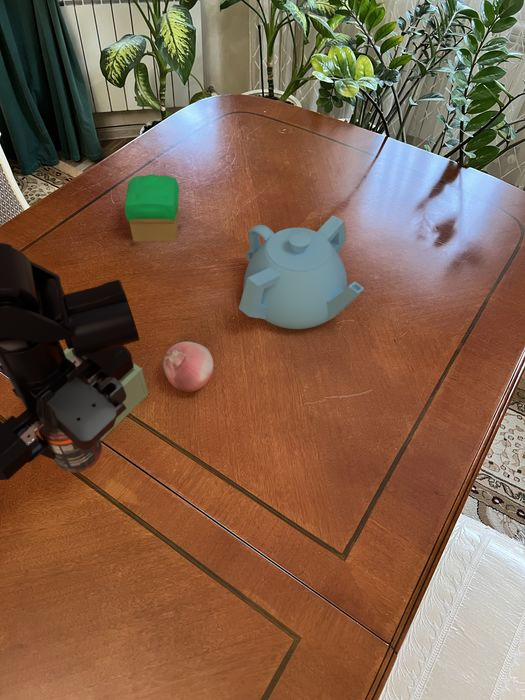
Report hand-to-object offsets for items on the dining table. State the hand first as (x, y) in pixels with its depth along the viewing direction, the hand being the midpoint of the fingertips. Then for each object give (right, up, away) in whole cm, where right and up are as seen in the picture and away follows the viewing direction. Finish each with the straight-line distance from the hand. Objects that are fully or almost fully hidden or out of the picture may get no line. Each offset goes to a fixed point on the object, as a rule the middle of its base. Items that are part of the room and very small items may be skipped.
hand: (72, 437), depth 68 cm
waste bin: (-3, +3, +19) cm, 19 cm away
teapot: (+29, +19, +32) cm, 47 cm away
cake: (+2, +35, +44) cm, 56 cm away
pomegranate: (+12, +6, +22) cm, 25 cm away
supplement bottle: (0, -2, +3) cm, 4 cm away
